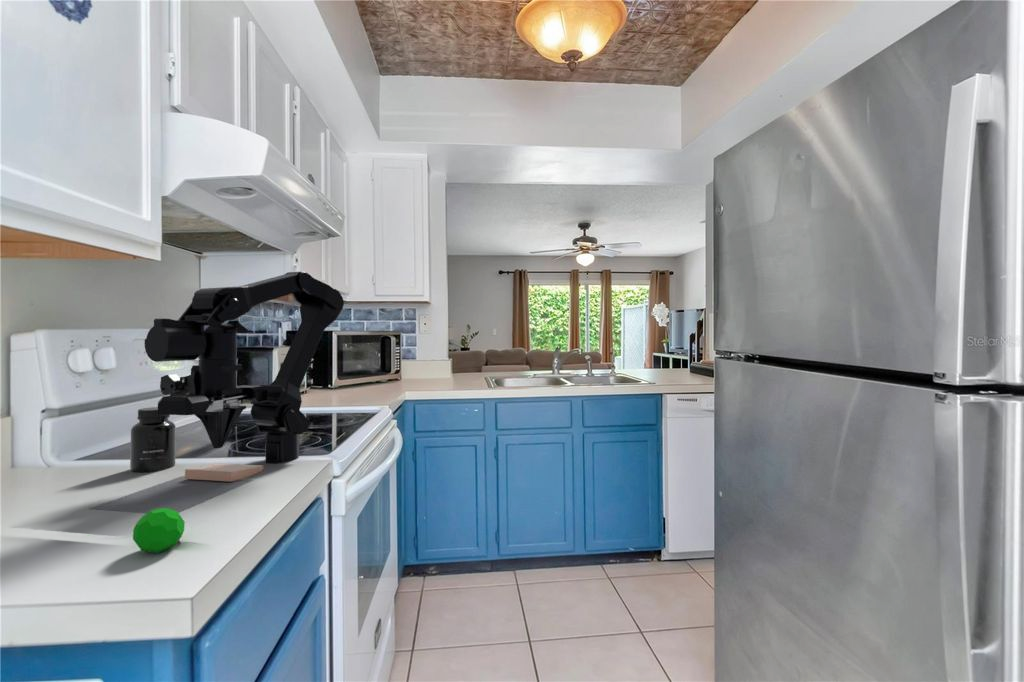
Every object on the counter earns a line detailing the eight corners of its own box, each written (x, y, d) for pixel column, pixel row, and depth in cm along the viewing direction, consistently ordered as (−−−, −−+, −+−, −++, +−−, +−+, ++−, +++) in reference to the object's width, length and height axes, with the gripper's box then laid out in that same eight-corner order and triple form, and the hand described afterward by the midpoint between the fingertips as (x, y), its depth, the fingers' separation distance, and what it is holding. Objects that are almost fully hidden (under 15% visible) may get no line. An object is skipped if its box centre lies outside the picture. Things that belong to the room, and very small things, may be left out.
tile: (184, 478, 82) (219, 471, 90) (230, 481, 80) (262, 474, 88) (185, 469, 82) (220, 463, 90) (231, 471, 80) (263, 465, 88)
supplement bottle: (147, 478, 85) (146, 412, 85) (121, 475, 87) (120, 410, 87) (184, 468, 92) (184, 406, 92) (159, 465, 94) (158, 405, 94)
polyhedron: (146, 542, 59) (146, 504, 59) (191, 539, 60) (191, 501, 60) (124, 561, 54) (123, 520, 54) (172, 557, 55) (172, 516, 55)
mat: (182, 480, 84) (182, 476, 84) (253, 484, 82) (253, 480, 82) (88, 514, 68) (88, 508, 68) (173, 520, 66) (173, 514, 66)
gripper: (218, 356, 94) (218, 435, 94) (127, 361, 75) (127, 459, 75) (269, 357, 92) (269, 437, 92) (189, 362, 73) (189, 462, 74)
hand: (217, 447), depth 83 cm, fingers closed
